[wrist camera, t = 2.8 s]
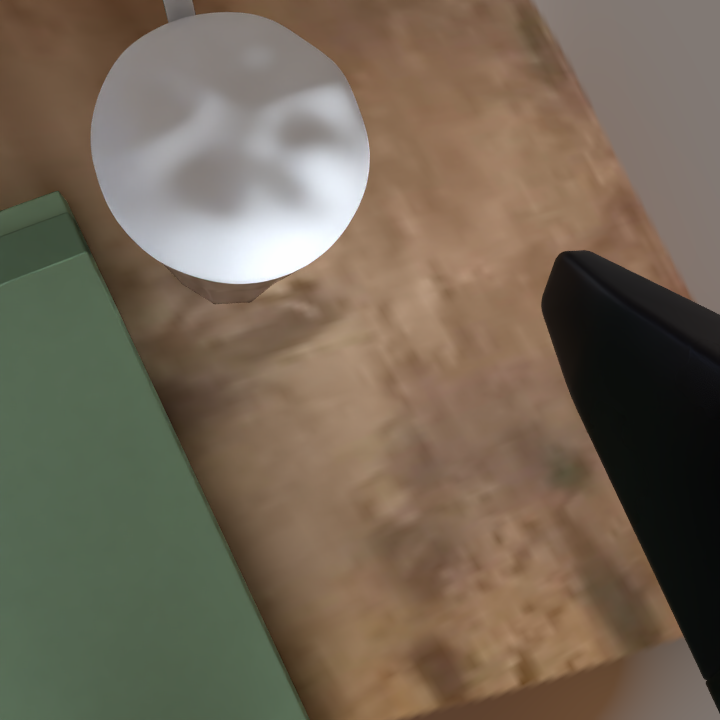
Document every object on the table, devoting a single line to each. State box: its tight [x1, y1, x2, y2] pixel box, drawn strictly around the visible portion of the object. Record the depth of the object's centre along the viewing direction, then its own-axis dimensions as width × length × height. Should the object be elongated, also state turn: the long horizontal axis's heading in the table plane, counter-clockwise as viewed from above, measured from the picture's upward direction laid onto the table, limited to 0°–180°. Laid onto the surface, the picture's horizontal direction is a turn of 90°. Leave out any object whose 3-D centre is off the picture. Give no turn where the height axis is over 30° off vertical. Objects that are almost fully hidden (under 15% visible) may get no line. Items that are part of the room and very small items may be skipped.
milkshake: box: [91, 0, 370, 304], centre depth 14 cm, size 4×5×10 cm
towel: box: [0, 191, 310, 720], centre depth 17 cm, size 20×9×1 cm, turn 25°
